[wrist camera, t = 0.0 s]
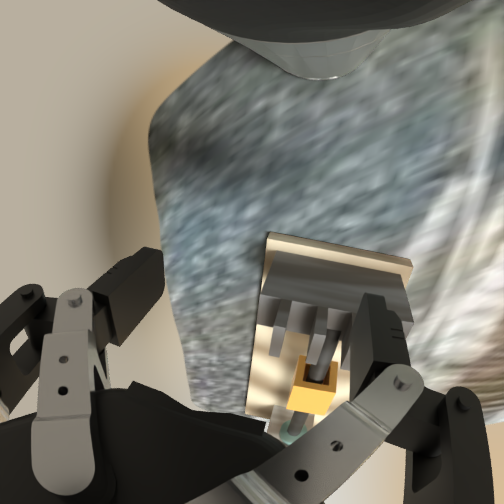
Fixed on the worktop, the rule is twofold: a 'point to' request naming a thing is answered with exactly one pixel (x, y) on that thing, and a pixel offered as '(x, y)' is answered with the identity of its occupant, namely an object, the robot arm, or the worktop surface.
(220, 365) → the worktop surface
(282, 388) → the cord board
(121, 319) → the robot arm
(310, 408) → the sleeve
